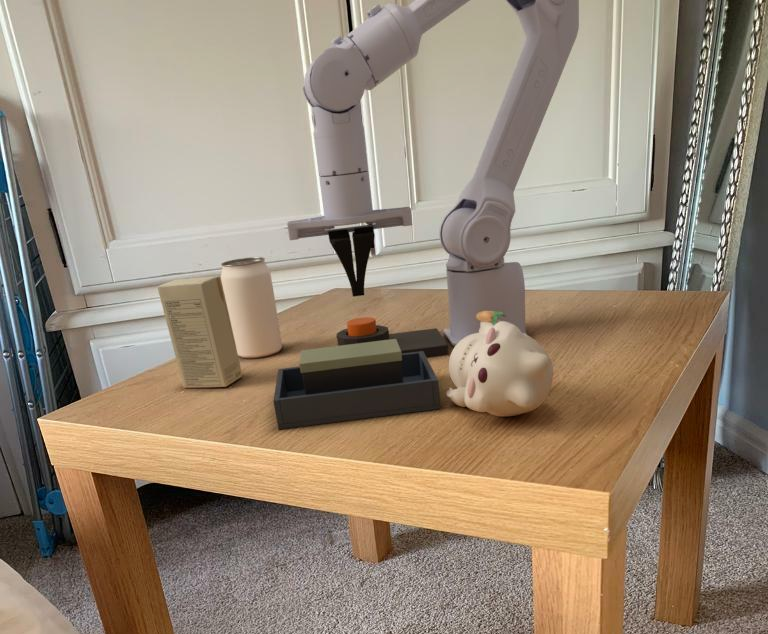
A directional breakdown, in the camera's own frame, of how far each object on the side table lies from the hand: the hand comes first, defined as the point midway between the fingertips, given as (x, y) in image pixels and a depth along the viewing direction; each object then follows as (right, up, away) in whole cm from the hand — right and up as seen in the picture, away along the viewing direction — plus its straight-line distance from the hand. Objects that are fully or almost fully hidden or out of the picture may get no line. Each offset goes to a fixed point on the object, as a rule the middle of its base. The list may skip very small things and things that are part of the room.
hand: (358, 294), depth 92 cm
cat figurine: (+14, -17, -20) cm, 30 cm away
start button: (+1, -4, +2) cm, 5 cm away
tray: (0, -15, -13) cm, 20 cm away
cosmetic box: (-18, -11, -1) cm, 21 cm away
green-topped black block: (0, -15, -13) cm, 20 cm away
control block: (+5, -6, +3) cm, 9 cm away
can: (-14, -5, +10) cm, 18 cm away
